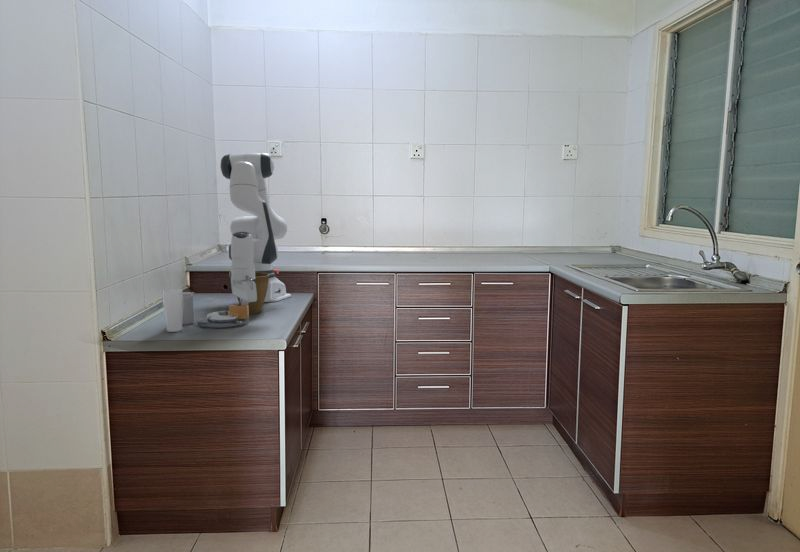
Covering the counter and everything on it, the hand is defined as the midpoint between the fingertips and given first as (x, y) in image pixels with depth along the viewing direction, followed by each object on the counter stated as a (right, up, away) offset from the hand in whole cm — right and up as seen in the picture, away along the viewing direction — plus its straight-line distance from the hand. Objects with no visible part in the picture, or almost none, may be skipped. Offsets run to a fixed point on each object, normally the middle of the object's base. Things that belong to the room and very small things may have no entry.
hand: (244, 309), depth 226 cm
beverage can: (-22, -5, -3) cm, 23 cm away
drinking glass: (-22, -7, -15) cm, 27 cm away
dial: (-6, -4, -2) cm, 7 cm away
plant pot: (-2, -2, +19) cm, 19 cm away
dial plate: (-8, -5, -2) cm, 9 cm away
